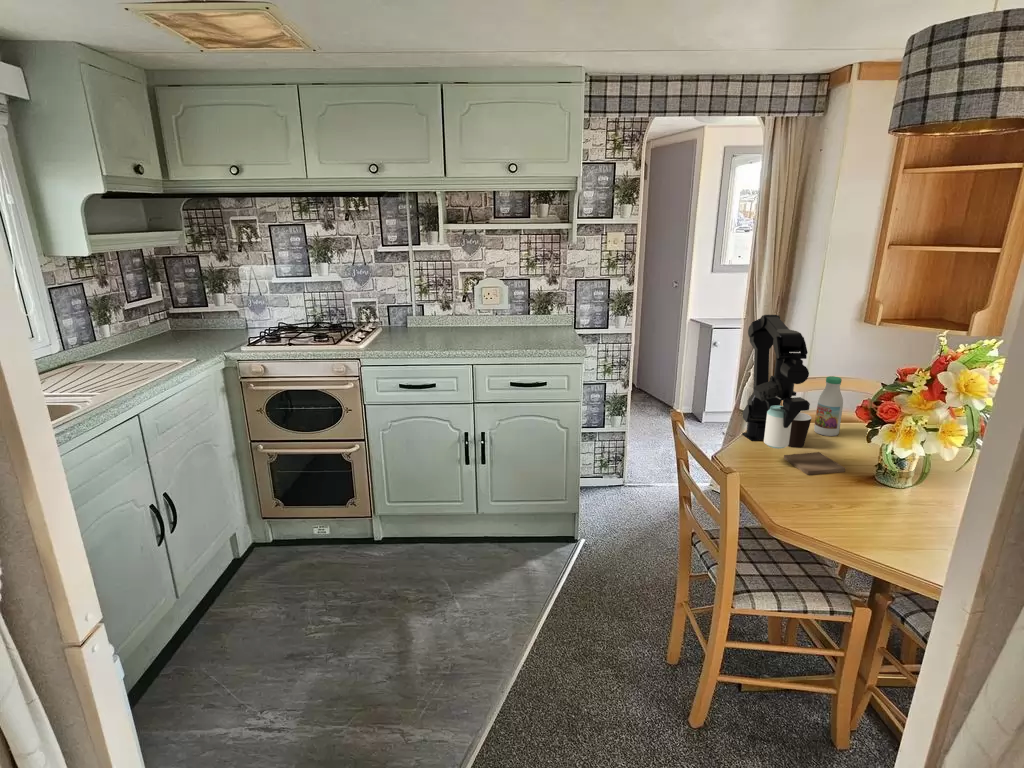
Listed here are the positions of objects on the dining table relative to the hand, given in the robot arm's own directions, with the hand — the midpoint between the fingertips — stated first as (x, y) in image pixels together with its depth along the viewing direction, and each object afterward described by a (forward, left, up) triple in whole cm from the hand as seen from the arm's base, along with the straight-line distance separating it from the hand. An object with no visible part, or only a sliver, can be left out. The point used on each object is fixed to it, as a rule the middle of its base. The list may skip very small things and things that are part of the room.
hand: (778, 423), depth 174 cm
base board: (+4, +11, -13) cm, 17 cm away
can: (0, 0, -7) cm, 7 cm away
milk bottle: (-19, +32, -13) cm, 39 cm away
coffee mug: (-13, +16, -13) cm, 24 cm away
